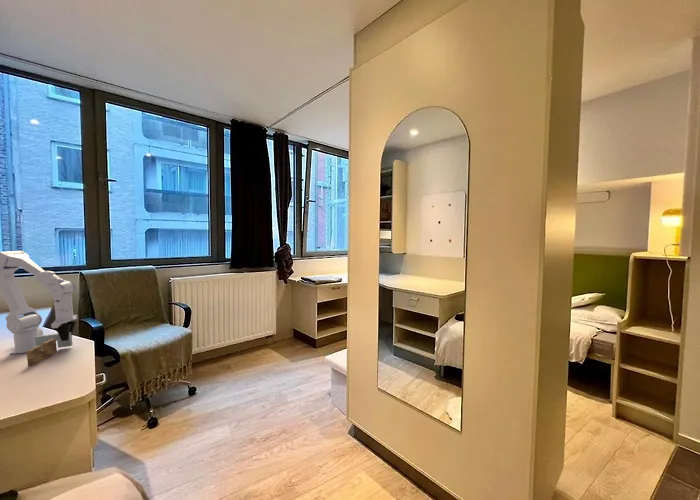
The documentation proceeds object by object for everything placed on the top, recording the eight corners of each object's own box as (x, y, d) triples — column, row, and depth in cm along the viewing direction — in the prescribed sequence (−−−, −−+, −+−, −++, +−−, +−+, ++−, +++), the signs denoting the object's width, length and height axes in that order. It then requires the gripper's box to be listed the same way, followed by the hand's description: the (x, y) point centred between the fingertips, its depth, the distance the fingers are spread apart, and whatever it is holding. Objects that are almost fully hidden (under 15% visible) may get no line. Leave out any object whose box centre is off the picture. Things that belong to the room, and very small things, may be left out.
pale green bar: (39, 349, 132) (37, 335, 132) (72, 344, 135) (71, 331, 135) (36, 350, 130) (34, 337, 130) (70, 346, 134) (68, 332, 133)
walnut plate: (52, 352, 129) (51, 339, 129) (56, 352, 130) (55, 338, 129) (28, 366, 116) (26, 351, 116) (33, 365, 116) (31, 350, 116)
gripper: (64, 312, 127) (67, 344, 128) (84, 304, 141) (86, 333, 142) (44, 314, 125) (46, 346, 126) (65, 306, 139) (68, 335, 140)
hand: (66, 339), depth 134 cm, fingers closed on pale green bar, 2 cm apart
